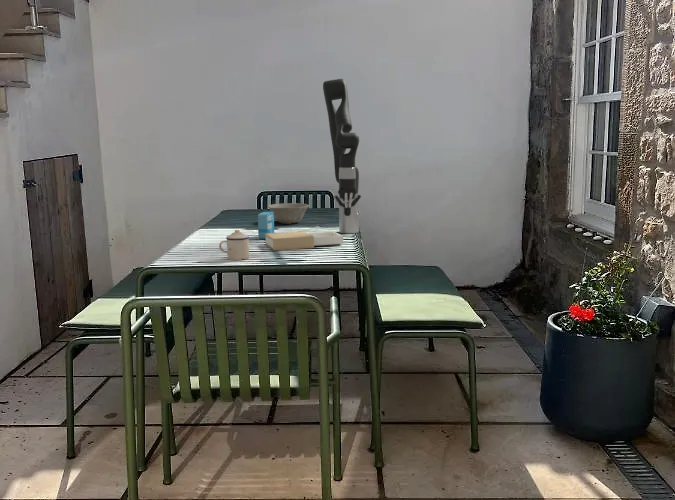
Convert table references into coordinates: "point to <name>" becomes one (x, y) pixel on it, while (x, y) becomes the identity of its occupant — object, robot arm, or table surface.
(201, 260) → the table surface
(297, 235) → the mailer sleeve
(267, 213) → the data package
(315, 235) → the tray
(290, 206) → the ceramic bowl
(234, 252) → the teacup with lid
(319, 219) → the table surface
